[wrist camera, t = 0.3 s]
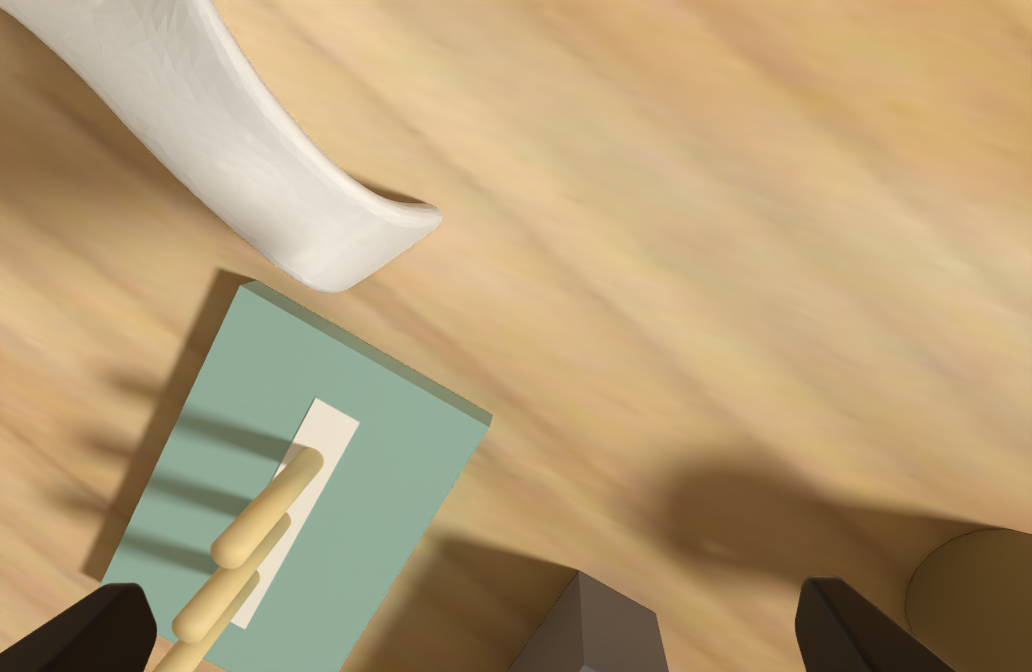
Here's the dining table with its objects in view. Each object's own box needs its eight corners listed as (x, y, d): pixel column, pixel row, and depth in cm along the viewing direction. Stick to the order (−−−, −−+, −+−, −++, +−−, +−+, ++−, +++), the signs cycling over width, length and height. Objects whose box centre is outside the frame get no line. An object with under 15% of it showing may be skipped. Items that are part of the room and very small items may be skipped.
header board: (321, 692, 27) (239, 869, 20) (113, 582, 26) (-47, 725, 19) (492, 415, 23) (465, 513, 16) (256, 279, 23) (123, 322, 16)
